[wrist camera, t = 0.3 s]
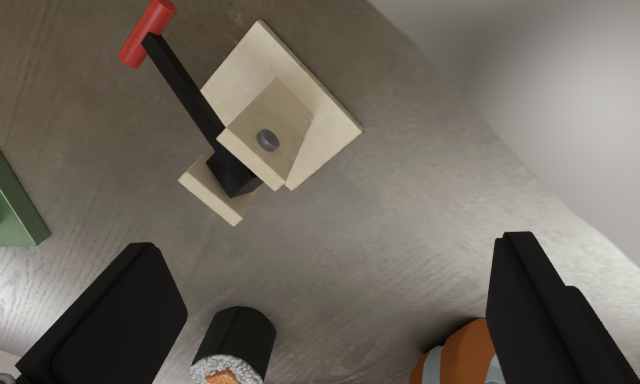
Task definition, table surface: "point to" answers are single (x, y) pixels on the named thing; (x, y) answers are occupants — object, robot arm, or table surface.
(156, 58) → the lever
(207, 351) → the sushi
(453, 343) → the alarm clock
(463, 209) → the table surface
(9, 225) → the button box
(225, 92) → the bracket
